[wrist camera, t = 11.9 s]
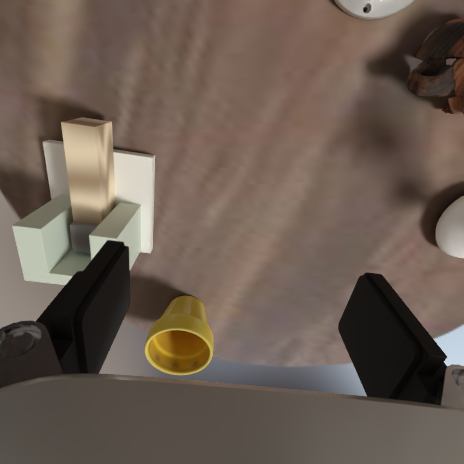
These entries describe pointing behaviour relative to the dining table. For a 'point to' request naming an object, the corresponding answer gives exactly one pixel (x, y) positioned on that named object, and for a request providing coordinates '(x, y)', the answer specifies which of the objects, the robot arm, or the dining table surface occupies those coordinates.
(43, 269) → the slotted block on base
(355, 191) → the dining table surface
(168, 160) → the dining table surface
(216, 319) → the dining table surface
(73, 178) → the rail
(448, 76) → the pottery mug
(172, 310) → the plant pot
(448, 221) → the flower in vase
